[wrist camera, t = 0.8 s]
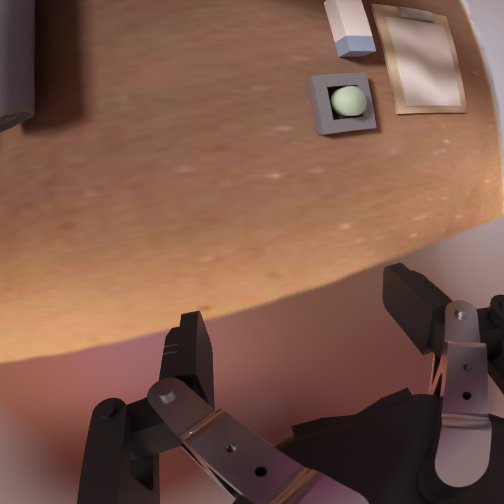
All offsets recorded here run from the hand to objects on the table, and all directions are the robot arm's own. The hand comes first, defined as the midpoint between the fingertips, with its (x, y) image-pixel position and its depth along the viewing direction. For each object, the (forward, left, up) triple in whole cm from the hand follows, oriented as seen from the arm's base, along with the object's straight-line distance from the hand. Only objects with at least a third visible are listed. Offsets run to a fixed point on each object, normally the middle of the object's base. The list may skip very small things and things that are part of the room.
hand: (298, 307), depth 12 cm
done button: (-8, +14, -23) cm, 28 cm away
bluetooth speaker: (-28, -24, -25) cm, 45 cm away
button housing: (-8, +14, -25) cm, 30 cm away
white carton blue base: (-18, +17, -25) cm, 35 cm away
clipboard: (-14, +29, -25) cm, 40 cm away
